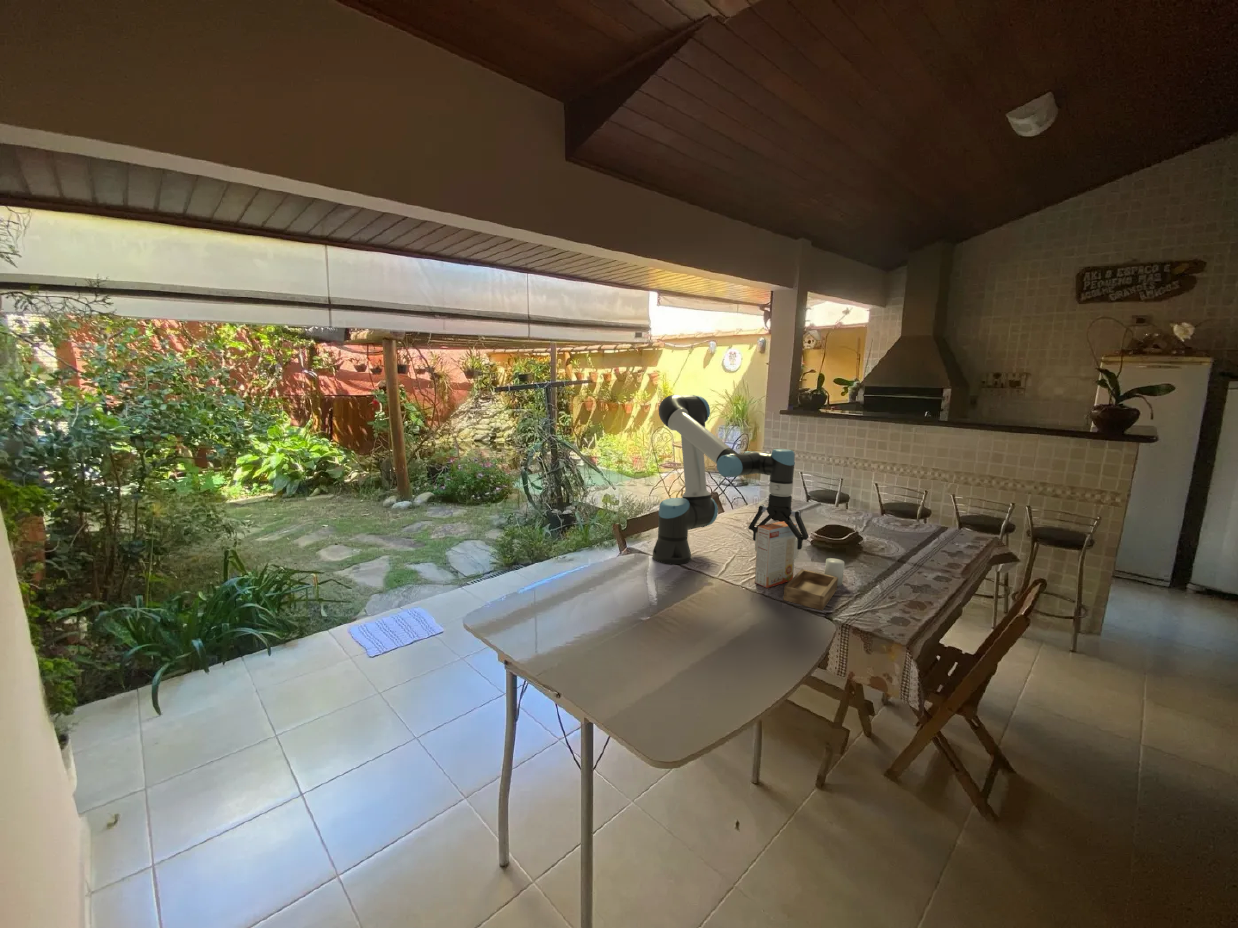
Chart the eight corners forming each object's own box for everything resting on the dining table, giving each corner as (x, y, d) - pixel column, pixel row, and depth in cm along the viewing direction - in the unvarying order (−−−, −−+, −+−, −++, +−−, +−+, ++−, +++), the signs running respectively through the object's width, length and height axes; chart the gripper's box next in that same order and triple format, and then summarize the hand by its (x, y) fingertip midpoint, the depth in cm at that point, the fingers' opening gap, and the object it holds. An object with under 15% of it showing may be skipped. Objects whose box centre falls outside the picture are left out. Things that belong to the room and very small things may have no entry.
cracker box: (779, 575, 177) (784, 520, 174) (793, 581, 172) (798, 524, 169) (752, 582, 170) (757, 524, 167) (766, 588, 165) (771, 529, 162)
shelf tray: (783, 599, 156) (784, 586, 156) (800, 581, 172) (801, 569, 172) (822, 610, 149) (823, 596, 149) (836, 589, 165) (838, 577, 165)
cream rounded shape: (822, 583, 171) (824, 561, 170) (826, 578, 176) (828, 557, 175) (840, 587, 168) (842, 565, 166) (843, 582, 172) (846, 560, 171)
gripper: (741, 491, 170) (737, 549, 173) (815, 501, 156) (810, 564, 159) (749, 487, 176) (745, 544, 180) (821, 497, 162) (816, 558, 165)
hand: (776, 553), depth 169 cm, fingers open, 13 cm apart
